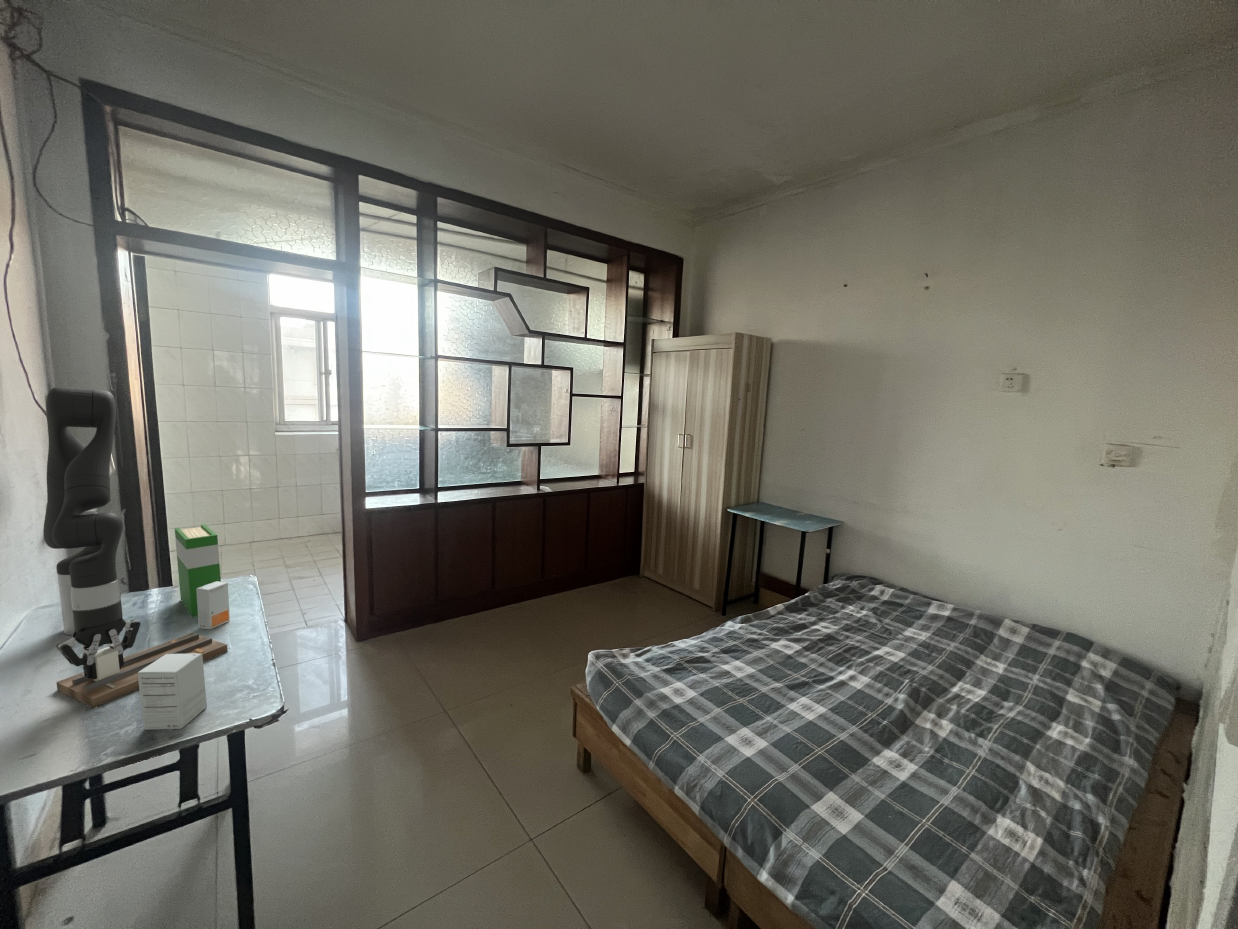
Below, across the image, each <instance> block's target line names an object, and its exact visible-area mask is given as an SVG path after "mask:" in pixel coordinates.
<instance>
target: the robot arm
mask: <svg viewBox="0 0 1238 929" xmlns="http://www.w3.org/2000/svg"><path fill="white" fill-rule="evenodd" d="M45 402H46V404H45V410H46V420H47V422H46V423H47V433H48V435H47V436H48V449H47V450H48V452H47V462H46V494H47V497H46V498H47V499H46V500H47V503H46V509H45V515H44V521H43V530H42V531H43V539H44V542H45V544H46V546H48V547H49V548H51V549H55V550H56V549H57V550H59V549H61V550H62V549H67V550H69V549H70V550H71V549H79V548H83V549H82V550H80V551H79V552H77V553H76V554H74V555H71V556H68V557H66V558H64V559H61V560H59V561H58V562H57V563H56V574H57V583H58V589H59V590H58V591H59V598H60V600H59V601H60V606H61V615H62V625H63V632H64V635H67V636H71V638H69V639H68V640H66V641H64V642H59V643H57V644H56V645H55V647H56V649H57V650H58V651H59V652H60V654H62V656H63V657H64V658H65V659H66V661H67V662H68V663H69V664H70V665H73V666H75V667H81V666H82V668H83V672H84V676H85V677H87V678H89V679H91V680H94V679H96V678H97V672H96V663H94V660H95V655H96V653H97V651H98V650H99V648H100V647H102V646H104V645H108V647H109V648H112V649H114V650H117V651H118V659H119V668H120V669H121V666H123V665H124V660H123V658H124V652H125V651H126V650H128V649H131V648H133V646H134V644H135V642H136V638H137V635H138V634H139V630H140V627H141V626H142V625H141V622H140V621H137V620H134V619H131V620H129V621H126V620H125V619H124V618H123V616H124V615H123V607H122V597H121V596H122V593H121V588H120V585H119V584H120V583H119V582H118V576H117V575H118V573H117V565H116V564H117V563H116V561H117V560H116V559H117V551H118V547H119V544H120V541H121V537H122V534H123V531H124V522H123V519H122V518H121V517H120V516H119V515H117V514H116V513H113V512H101V513H99V512H98V511H95V510H94V509H98V508H101V507H104V506H106V505H108V504H109V503H110V502H111V479H110V478H111V475H110V472H111V470H110V466H111V460H112V459H111V458H112V451H113V447H114V438H115V430H116V429H115V428H116V418H117V417H116V416H117V414H116V412H117V408H116V407H117V406H116V399H115V397H114V395H113V393H112V392H110V391H107V390H103V389H91V388H90V389H89V388H79V387H69V386H67V387H66V386H56V387H52V388H51V389H50V390H49V391H48V394H47V397H46V401H45ZM71 428H92V429H96V431H95V433H94V436H93V438H92V440H90V442H89V443H88V444H86V445H85V444H83V442H81V441H80V440H79V439H78V438H77V437H76V436H75V435H74V433H73V432H72V430H71ZM123 630H124V631H125V632H124V635H123V637H122V641H121V639H120V637H119V636H120V634H121V633H122V631H123ZM76 643H79V644H81V645H82V647H81V653H82V654H81V657H80V656H79V655H78V654H77V653H76V652H75V651H74V650H75V649H76Z"/></svg>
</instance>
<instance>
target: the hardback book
mask: <svg viewBox="0 0 1238 929" xmlns="http://www.w3.org/2000/svg"><path fill="white" fill-rule="evenodd" d="M174 537H175V538H174V539H175V548H176V559H177V560H176V561H177V570H178V571H177V572H178V582H179V583H178V584H179V593H180V594H179V595H180V601H181V600H182V601H181V602H183V603H184V604H183V603H182V604H183V606H184V605H185V606H186V607H185V606H184V607H185V609H186V608H187V609H186V611H187V612H188V611H189V612H188V613H189V616H190V617H191V616H192V617H191V618H193V617H194V616H195V617H198V607H197V592H196V589H197V588H199V587H202V586H205V585H207V584H210V583H213V582H216V581H218V582H222V578H221V564H220V555H219V554H220V552H219V540H218V534H217V533H216V532H214V531H213V530H212V529H211V528H210V527H208V526H207V525H206V523H203V524H200V526H199V527H192V528H191V527H190V528H184V529H181V528H180V527H174Z"/></svg>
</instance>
